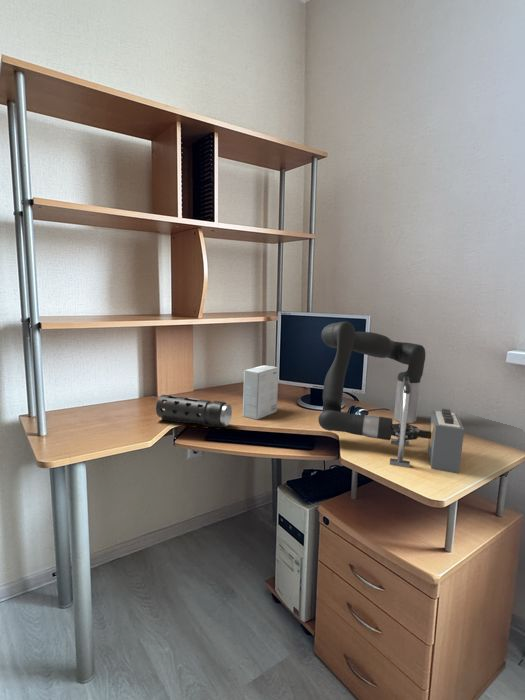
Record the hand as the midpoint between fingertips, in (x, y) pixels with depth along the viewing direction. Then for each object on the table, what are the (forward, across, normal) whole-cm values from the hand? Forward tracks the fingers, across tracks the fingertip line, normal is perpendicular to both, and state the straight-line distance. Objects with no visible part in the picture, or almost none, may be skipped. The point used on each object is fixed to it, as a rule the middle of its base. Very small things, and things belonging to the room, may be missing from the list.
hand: (431, 435), depth 141 cm
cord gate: (-9, 0, +8) cm, 12 cm away
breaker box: (+4, 0, +8) cm, 9 cm away
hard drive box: (-66, +21, +8) cm, 70 cm away
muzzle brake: (-85, -3, +8) cm, 86 cm away
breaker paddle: (+2, 0, +4) cm, 4 cm away
